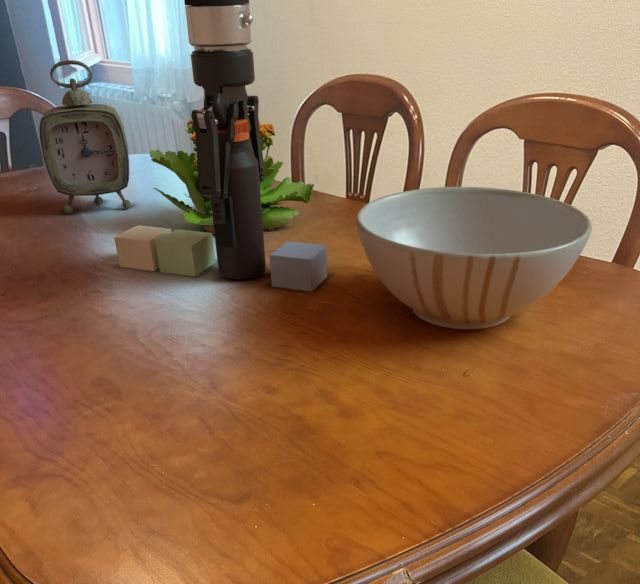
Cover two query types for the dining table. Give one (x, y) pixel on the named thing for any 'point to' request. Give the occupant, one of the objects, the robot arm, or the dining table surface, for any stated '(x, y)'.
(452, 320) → the decorative bowl
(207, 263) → the sage block
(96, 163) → the tabletop clock
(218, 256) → the dark brown bottle
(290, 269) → the slate block
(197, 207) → the potted flower
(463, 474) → the dining table surface
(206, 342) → the dining table surface
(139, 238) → the cream block
